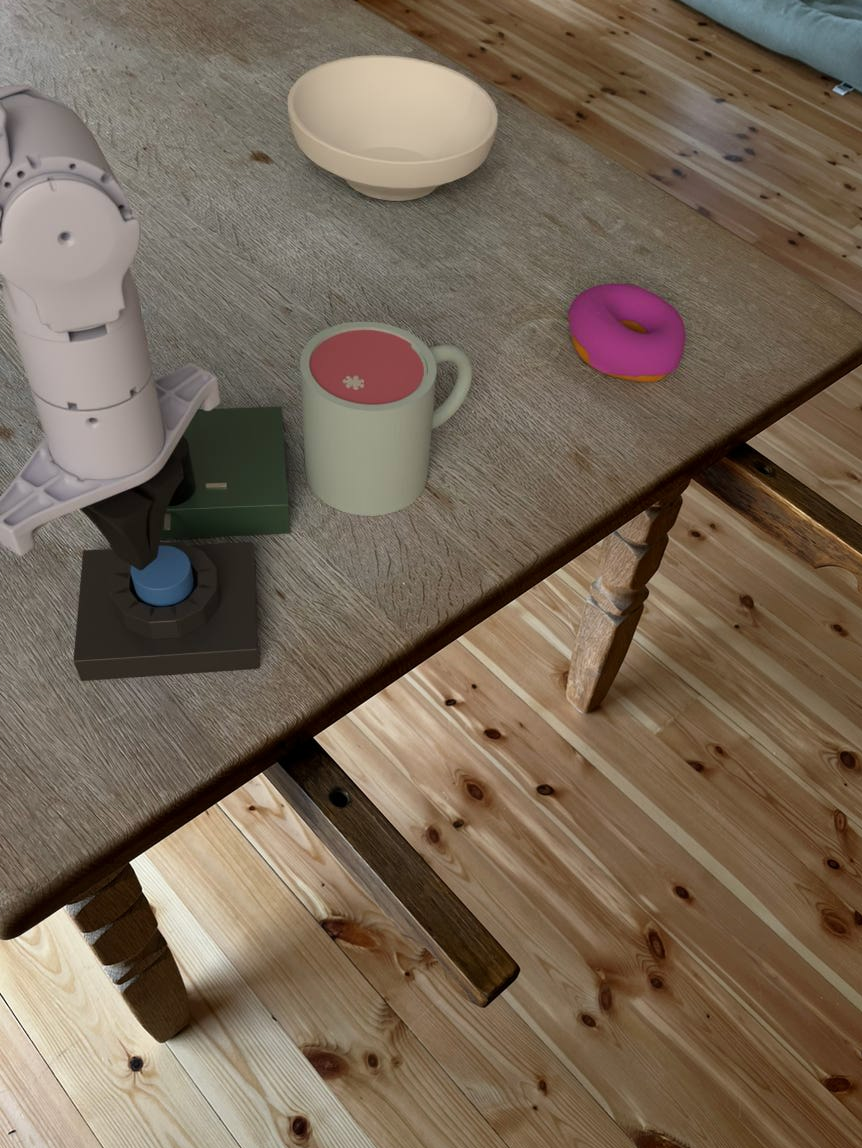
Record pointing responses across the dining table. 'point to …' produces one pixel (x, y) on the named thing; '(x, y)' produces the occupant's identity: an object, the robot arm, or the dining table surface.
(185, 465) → the knob
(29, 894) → the dining table surface
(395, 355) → the mug
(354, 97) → the bowl
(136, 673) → the button block
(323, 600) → the dining table surface
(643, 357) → the donut
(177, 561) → the plunger
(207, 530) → the panel
